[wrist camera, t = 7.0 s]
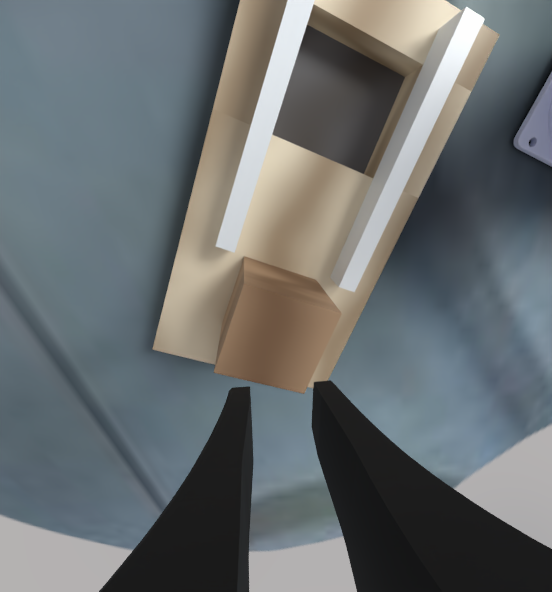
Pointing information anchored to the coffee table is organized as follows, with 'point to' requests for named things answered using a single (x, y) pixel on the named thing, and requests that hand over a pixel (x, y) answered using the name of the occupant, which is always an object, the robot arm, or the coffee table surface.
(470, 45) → the channel
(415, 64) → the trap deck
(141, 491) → the coffee table surface
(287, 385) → the walnut block
